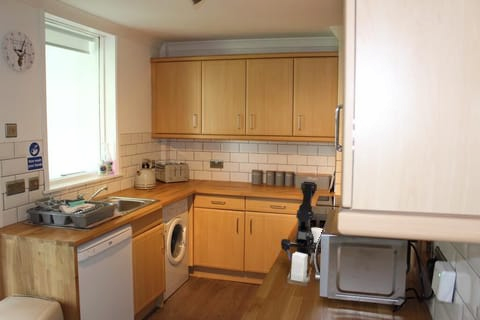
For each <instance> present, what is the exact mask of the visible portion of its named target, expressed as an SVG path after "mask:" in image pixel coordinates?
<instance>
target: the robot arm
mask: <svg viewBox="0 0 480 320" xmlns="http://www.w3.org/2000/svg"><path fill="white" fill-rule="evenodd" d="M300 190H301V194H302V201H301V204H300V205H299V206H298V209H297V211H296V215H295V216H296V217H295V218H297V231H296V235H295V242H291V239H288V238H282V239H281V240H280V241H281V242H280V247H281V249H282V250H283V251H284V252H286V255H287V258H288V259H287V260H288V263H290V262H291V248H296V252H299V253H303V254H308V257H310V258H309V259H310V260H309V265H310V266H311V264H312V263H313V261H314V259H315V257H314V254H315V249H316V244H317V243H316V242H314V236H313V234H312V230H311V228H312V227H311V221H312V220H314V218H315V213H314V211H313V206H312V200H313V198H314V197H315V196H316V192H317V190H318V184H317V183H316V181H303V182H301V183H300ZM320 254H322V253H321V247H320V244H319V248H318V253H317V255H320ZM317 255H316V256H317Z"/></svg>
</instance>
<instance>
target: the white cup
mask: <svg viewBox="0 0 480 320" xmlns="http://www.w3.org/2000/svg"><path fill="white" fill-rule="evenodd" d="M310 228H311V230H312V234H313V236H314V242H316V243H317V241H318V239H319V237H320V235H321V232H322V230H323V229H324V228H320V227H310Z"/></svg>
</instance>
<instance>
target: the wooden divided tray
mask: <svg viewBox="0 0 480 320" xmlns="http://www.w3.org/2000/svg"><path fill="white" fill-rule="evenodd" d="M291 268H292V265H290V269H289V272H288V275H287V277H286V284H289V285H296V286H301V287H309V283H310V281H311V280H310V279H311V275H312V272H313V271H312V270H313V267H311V266H307V271H308V273H307V275H306V280H305V281H304V282H303V281H296V280H292V279H291ZM311 271H312V272H311Z"/></svg>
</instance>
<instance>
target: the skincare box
mask: <svg viewBox="0 0 480 320" xmlns="http://www.w3.org/2000/svg"><path fill="white" fill-rule="evenodd" d="M308 257H309V256H308V254H303V253H299V252H297V251H295V252H293V253H292V256H291V266H292V268H291V267H290V269H291V276H290V277H291V279H292V280H296V281H303V282H304V281H305V280H306V275H307V274H308V273H307V267H308Z"/></svg>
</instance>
